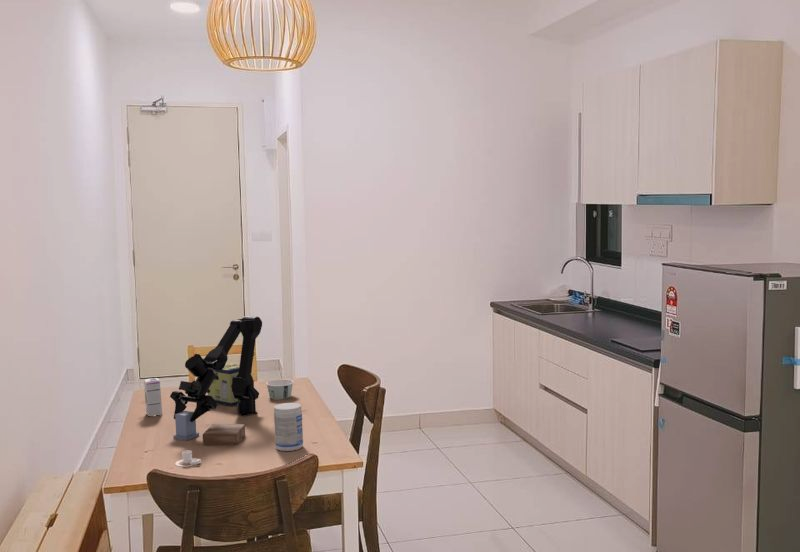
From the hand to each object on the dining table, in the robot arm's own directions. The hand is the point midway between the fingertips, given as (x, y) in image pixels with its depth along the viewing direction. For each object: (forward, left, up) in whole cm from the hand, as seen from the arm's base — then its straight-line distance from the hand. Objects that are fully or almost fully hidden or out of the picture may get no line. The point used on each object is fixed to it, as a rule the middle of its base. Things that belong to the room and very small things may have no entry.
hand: (182, 420), depth 273 cm
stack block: (-11, +11, -7) cm, 17 cm away
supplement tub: (-26, +33, -7) cm, 43 cm away
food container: (-53, -33, -7) cm, 63 cm away
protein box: (-32, -40, -7) cm, 52 cm away
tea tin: (-1, -1, -7) cm, 7 cm away
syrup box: (0, -39, -7) cm, 39 cm away
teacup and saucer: (+9, +30, -7) cm, 32 cm away
